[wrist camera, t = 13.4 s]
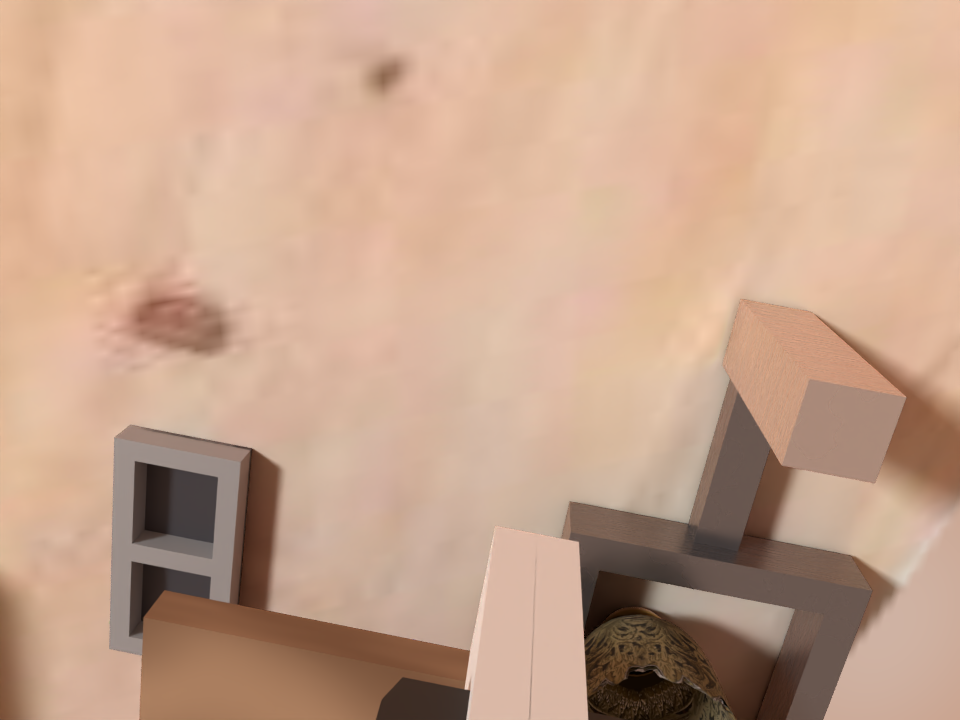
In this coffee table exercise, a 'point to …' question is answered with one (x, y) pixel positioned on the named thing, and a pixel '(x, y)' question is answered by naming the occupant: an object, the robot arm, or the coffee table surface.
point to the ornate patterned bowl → (650, 671)
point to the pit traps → (173, 524)
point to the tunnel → (274, 664)
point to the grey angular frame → (733, 485)
